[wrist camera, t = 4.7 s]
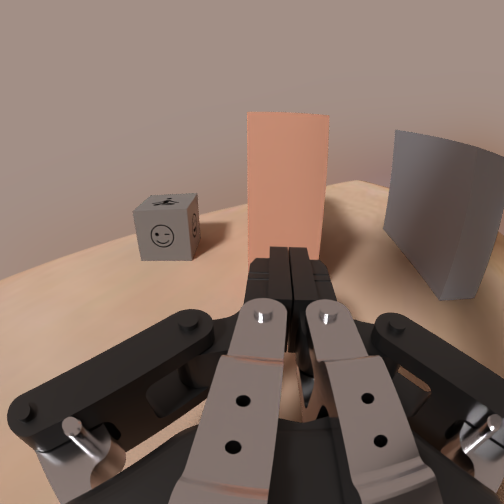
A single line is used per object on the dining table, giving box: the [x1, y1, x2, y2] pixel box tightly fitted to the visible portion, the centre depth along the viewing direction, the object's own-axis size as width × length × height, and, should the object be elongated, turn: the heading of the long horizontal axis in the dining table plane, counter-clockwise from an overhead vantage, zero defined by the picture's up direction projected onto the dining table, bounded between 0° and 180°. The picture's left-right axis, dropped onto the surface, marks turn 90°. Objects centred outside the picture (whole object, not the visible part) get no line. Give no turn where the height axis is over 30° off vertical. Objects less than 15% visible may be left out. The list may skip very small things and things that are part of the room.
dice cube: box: [133, 193, 201, 261], centre depth 26 cm, size 5×5×5 cm
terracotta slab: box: [247, 112, 329, 273], centre depth 23 cm, size 15×4×12 cm, turn 176°
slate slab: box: [383, 130, 504, 301], centre depth 22 cm, size 15×4×12 cm, turn 176°
